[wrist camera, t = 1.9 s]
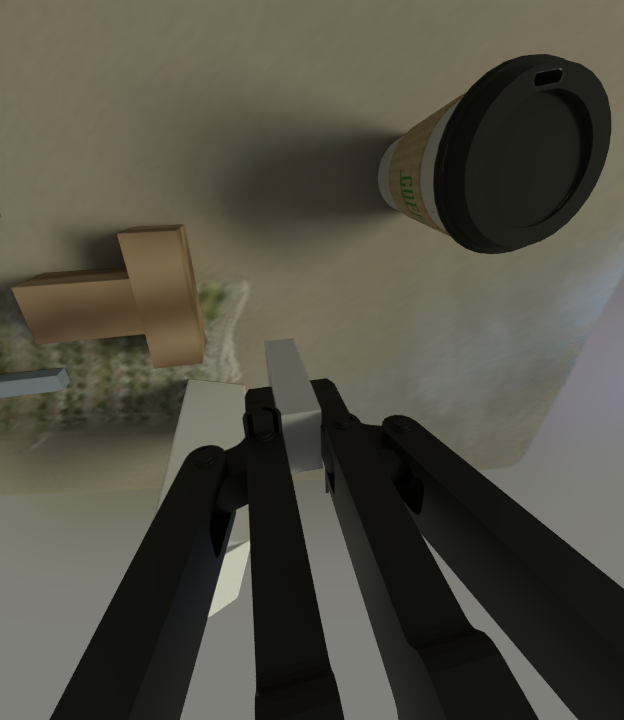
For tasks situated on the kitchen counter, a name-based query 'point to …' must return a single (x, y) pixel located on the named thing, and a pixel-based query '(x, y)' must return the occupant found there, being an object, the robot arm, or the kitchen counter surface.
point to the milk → (224, 429)
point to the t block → (124, 299)
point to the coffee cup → (504, 156)
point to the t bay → (33, 382)
